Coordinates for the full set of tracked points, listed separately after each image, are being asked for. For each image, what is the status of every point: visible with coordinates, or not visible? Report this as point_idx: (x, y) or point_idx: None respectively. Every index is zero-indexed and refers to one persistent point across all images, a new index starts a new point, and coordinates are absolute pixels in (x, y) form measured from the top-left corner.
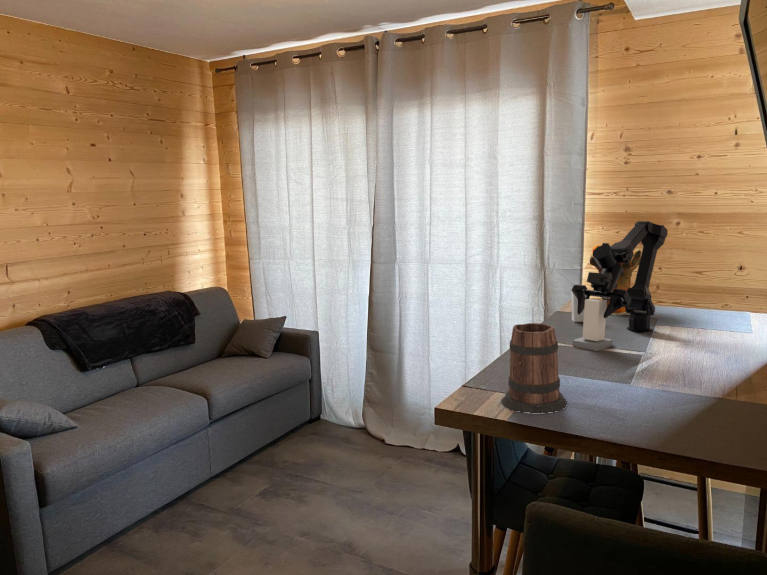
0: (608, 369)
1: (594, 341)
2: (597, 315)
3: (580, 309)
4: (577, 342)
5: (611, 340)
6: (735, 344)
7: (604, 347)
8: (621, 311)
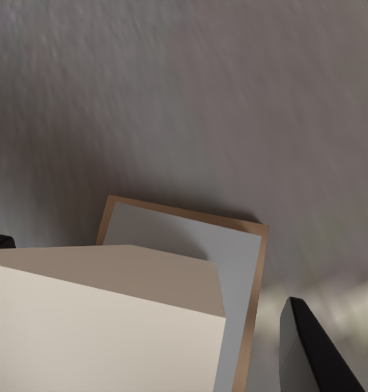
0: (44, 58)
1: None
2: (68, 247)
3: (292, 349)
4: (230, 230)
5: None
6: None
7: None
8: None
